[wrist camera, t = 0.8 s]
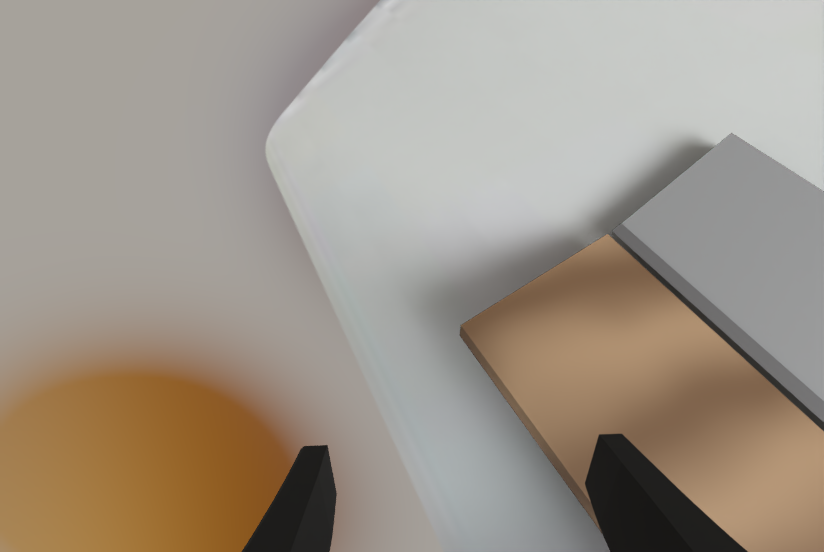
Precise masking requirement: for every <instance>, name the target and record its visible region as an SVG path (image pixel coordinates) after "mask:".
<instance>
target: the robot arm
mask: <svg viewBox="0 0 824 552" xmlns="http://www.w3.org/2000/svg"><path fill="white" fill-rule="evenodd" d="M585 486H586V489H587V492H588V495H589V498H590V501H591V504H592V507H593V510H594V513H595V516H596V519H597V522H598V524H599V527H600V529H601V531H602V534H603V536H604V538H605V540H606V543H607V545H608V547H609V549H610V551H611V552H748V551H747V550H745V549H744V548H743V547H742V546H741V545H740V544H739V543H737V542H736V541H735V540H734V539H733V538H732V537H730V536H729V535H728V534H727V533H726V532H725V531H724V530H723V529H722V528H720V527H719V526H718V525H717V524H716V523H715V522H714V521H713V520H712V519H711V518H710V517H708V516H707V515H706V514H705V513H704V512H703V511H702V510H701V509H700V508H699V507H698V506H697V505H696V504H694V503H693V502H692V501H691V500H690V499H689V498H688V497H687V496H686V495H685V494H684V493H683V492H682V491H681V490H680V489H678V488H677V487H676V486H675V485H674V484H673V483H672V482H671V481H670V480H669V479H668V478H667V477H666V476H665V475H664V474H663V473H662V472H661V471H660V470H659V469H658V468H657V467H656V466H655V465H654V464H653V463H652V462H651V461H650V460H649V459H648V458H646V457H645V456H644V455H643V454H642V453H641V452H640V451H639V450H638V449H637V448H636V447H635V446H634V445H633V444H632V443H631V442H630V441H629V440H628V439H627V438H626V437H625V436H624V435H623V434H599V436H598V439H597V443H596V446H595V450H594V453H593V457H592V460H591V464H590V467H589V470H588V474H587V477H586V481H585ZM335 504H336V488H335V483H334V478H333V473H332V467H331V462H330V456H329V451H328V446H327V445H323V446H304V447H303V448H302V449H301V450H300V452H299V454H298V456H297V458H296V460H295V462H294V464H293V466H292V468H291V469H290V472H289V473H288V475H287V477H286V479H285V481H284V483H283V484H282V486H281V488H280V490H279V491H278V493H277V495H276V497H275V499H274V500H273V502H272V504H271V505H270V507H269V509H268V510H267V512H266V513H265V515H264V517H263V519H262V520H261V522H260V524H259V525H258V527H257V528H256V530H255V532H254V533H253V535H252V537H251V538H250V540H249V541H248V543H247V545H246V546H245V547H244V549H243V550H242V552H329V551H330V546H331V540H332V533H333V524H334V515H335Z"/></svg>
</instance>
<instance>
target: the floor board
mask: <svg viewBox="0 0 824 552" xmlns="http://www.w3.org/2000/svg"><path fill="white" fill-rule="evenodd" d="M612 236H613V239H614V240H615V241H616V242H617V243H619V244H620V245H621V246H622V247H623V248H624V249H625V250H626V251H627V252H628V253H629V254H631V255H632V256H633V257H634V258H635V259H636V260H637V261H638V262H639V263H640V264H642V265H643V266H644V267H645V268H646V269H647V270H648V271H649V272H650V273H651V274H652V275H654V276H655V277H656V278H657V279H658V280H659V281H660V282H661V283H662V284H663V285H665V286H666V287H667V288H668V289H669V290H670V291H671V292H672V293H673V294H674V295H675V296H677V297H678V298H679V299H680V300H681V301H682V302H683V303H684V304H685V305H686V306H687V307H689V308H690V309H691V310H692V311H693V312H694V313H695V314H696V315H697V316H698V317H700V318H701V319H702V320H703V321H704V322H705V323H706V324H707V325H708V326H709V327H710V328H712V329H713V330H714V331H715V332H716V333H717V334H718V335H719V336H720V337H721V338H723V339H724V340H725V341H726V342H727V343H728V344H729V345H730V346H731V347H732V348H733V349H735V350H736V351H737V352H738V353H739V354H740V355H741V356H742V357H743V358H744V359H746V360H747V361H748V362H749V363H750V364H751V365H752V366H753V367H754V368H755V369H756V370H758V371H759V372H760V373H761V374H762V375H763V376H764V377H765V378H766V379H767V380H769V381H770V382H771V383H772V384H773V385H774V386H775V387H776V388H777V389H778V390H779V391H781V392H782V393H783V394H784V395H785V396H786V397H787V398H788V399H789V400H790V401H791V402H793V403H794V404H795V405H796V406H797V407H798V408H799V409H800V410H801V411H802V412H804V413H805V414H806V415H807V416H808V417H809V418H810V419H811V420H812V421H813V422H814V423H816V424H817V425H818V426H819V427H820V428H821V429H822V430H823V431H824V191H822V190H821V189H819V188H818V187H816V186H815V185H813V184H811V183H810V182H808V181H807V180H805V179H804V178H802V177H800V176H799V175H797V174H796V173H794V172H793V171H791V170H789V169H788V168H786V167H785V166H783V165H782V164H780V163H778V162H777V161H775V160H774V159H772V158H770V157H769V156H767V155H766V154H764V153H763V152H761V151H759V150H758V149H756V148H755V147H753V146H752V145H750V144H748V143H747V142H745V141H744V140H742V139H741V138H739V137H737V136H736V135H734V134H733V133H731V134H729V135H728V136H727V137H726V138H725V139H723V140H722V141H721V142H720V143H719V144H717V145H716V146H715V147H714V148H712V149H711V150H710V151H709V152H708V153H706V154H705V155H704V156H703V157H702V158H700V159H699V160H698V161H697V162H695V163H694V164H693V165H692V166H691V167H689V168H688V169H687V170H686V171H685V172H683V173H682V174H681V175H680V176H678V177H677V178H676V179H675V180H674V181H672V182H671V183H670V184H669V185H668V186H666V187H665V188H664V189H663V190H661V191H660V192H659V193H658V194H657V195H655V196H654V197H653V198H652V199H650V200H649V201H648V202H647V203H646V204H644V205H643V206H642V207H641V208H640V209H638V210H637V211H636V212H635V213H633V214H632V215H631V216H630V217H629V218H627V219H626V220H625V221H624V222H623V223H621V224H619V225H618V226H617V227H616V228H615V229H613V230H612Z"/></svg>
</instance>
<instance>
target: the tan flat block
mask: <svg viewBox="0 0 824 552" xmlns="http://www.w3.org/2000/svg"><path fill="white" fill-rule="evenodd" d="M460 336H461V338H462V339H463V341H464V342H465V343H466V345H467V346H468V348H469V349H470V350H471V352H472V353H473V355H474V356H475V357H476V359H477V360H478V362H479V363H480V364H481V366H482V367H483V368H484V370H485V371H486V373H487V374H488V375H489V377H490V378H491V380H492V381H493V382H494V384H495V385H496V387H497V388H498V389H499V391H500V392H501V393H502V395H503V396H504V398H505V399H506V400H507V402H508V403H509V405H510V406H511V407H512V409H513V410H514V412H515V413H516V414H517V416H518V417H519V419H520V420H521V421H522V423H523V424H524V425H525V427H526V428H527V430H528V431H529V432H530V434H531V435H532V437H533V438H534V439H535V441H536V442H537V444H538V445H539V446H540V448H541V449H542V451H543V452H544V453H545V455H546V456H547V457H548V459H549V460H550V462H551V463H552V464H553V466H554V467H555V469H556V470H557V471H558V473H559V474H560V476H561V477H562V478H563V480H564V481H565V482H566V484H567V485H568V487H569V488H570V489H571V491H572V492H573V494H574V495H575V496H576V498H577V499H578V501H579V502H580V503H581V505H582V506H583V508H584V509H585V510H586V512H587V513H588V514H589V516H590V517H591V519H592V520H593V521H594V523H595V524H596V526H597V527H598V528H599V530H600V531H601V529H600V527H599V524H598V522H597V519H596V516H595V513H594V510H593V507H592V504H591V501H590V498H589V495H588V492H587V489H586V486H585V481H586V477H587V474H588V470H589V467H590V464H591V460H592V457H593V453H594V450H595V446H596V443H597V439H598V436H599V434H623V435H624V436H625V437H626V438H627V439H628V440H629V441H630V442H631V443H632V444H633V445H634V446H635V447H636V448H637V449H638V450H639V451H640V452H641V453H642V454H643V455H644V456H645V457H646V458H648V459H649V460H650V461H651V462H652V463H653V464H654V465H655V466H656V467H657V468H658V469H659V470H660V471H661V472H662V473H663V474H664V475H665V476H666V477H667V478H668V479H669V480H670V481H671V482H672V483H673V484H674V485H675V486H676V487H677V488H678V489H680V490H681V491H682V492H683V493H684V494H685V495H686V496H687V497H688V498H689V499H690V500H691V501H692V502H693V503H694V504H696V505H697V506H698V507H699V508H700V509H701V510H702V511H703V512H704V513H705V514H706V515H707V516H708V517H710V518H711V519H712V520H713V521H714V522H715V523H716V524H717V525H718V526H719V527H720V528H722V529H723V530H724V531H725V532H726V533H727V534H728V535H729V536H730V537H732V538H733V539H734V540H735V541H736V542H737V543H739V544H740V545H741V546H742V547H743V548H744V549H745V550H747V551H748V552H824V431H823V430H822V429H820V428H819V427H818V426H817V425H816V424H815V423H814V422H813V421H812V420H811V419H810V418H808V417H807V416H806V415H805V414H804V413H803V412H802V411H801V410H800V409H799V408H798V407H796V406H795V405H794V404H793V403H792V402H791V401H790V400H789V399H788V398H787V397H785V396H784V395H783V394H782V393H781V392H780V391H779V390H778V389H777V388H776V387H775V386H773V385H772V384H771V383H770V382H769V381H768V380H767V379H766V378H765V377H764V376H763V375H761V374H760V373H759V372H758V371H757V370H756V369H755V368H754V367H753V366H752V365H750V364H749V363H748V362H747V361H746V360H745V359H744V358H743V357H742V356H741V355H740V354H738V353H737V352H736V351H735V350H734V349H733V348H732V347H731V346H730V345H729V344H728V343H726V342H725V341H724V340H723V339H722V338H721V337H720V336H719V335H718V334H717V333H715V332H714V331H713V330H712V329H711V328H710V327H709V326H708V325H707V324H706V323H705V322H703V321H702V320H701V319H700V318H699V317H698V316H697V315H696V314H695V313H694V312H692V311H691V310H690V309H689V308H688V307H687V306H686V305H685V304H684V303H683V302H682V301H680V300H679V299H678V298H677V297H676V296H675V295H674V294H673V293H672V292H671V291H670V290H668V289H667V288H666V287H665V286H664V285H663V284H662V283H661V282H660V281H659V280H657V279H656V278H655V277H654V276H653V275H652V274H651V273H650V272H649V271H648V270H647V269H645V268H644V267H643V266H642V265H641V264H640V263H639V262H638V261H637V260H636V259H635V258H633V257H632V256H631V255H630V254H629V253H628V252H627V251H626V250H625V249H624V248H622V247H621V246H620V245H619V244H618V243H617V242H616V241H615V240H614V239H613V238H612V237H610V236H609V235H608V234H607V235H605V236H604V237H602V238H600V239H599V240H597V241H595V242H594V243H592V244H591V245H589V246H587V247H586V248H584V249H583V250H581V251H579V252H578V253H576V254H575V255H573V256H571V257H570V258H568V259H567V260H565V261H563V262H562V263H560V264H558V265H557V266H555V267H554V268H552V269H550V270H549V271H547V272H546V273H544V274H542V275H541V276H539V277H538V278H536V279H534V280H533V281H531V282H530V283H528V284H526V285H525V286H523V287H522V288H520V289H518V290H517V291H515V292H513V293H512V294H510V295H509V296H507V297H505V298H504V299H502V300H501V301H499V302H497V303H496V304H494V305H493V306H491V307H489V308H488V309H486V310H485V311H483V312H481V313H480V314H478V315H477V316H475V317H473V318H472V319H470V320H468V321H467V322H465V323H464V324H462V325H461V329H460ZM601 533H602V531H601Z"/></svg>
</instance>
